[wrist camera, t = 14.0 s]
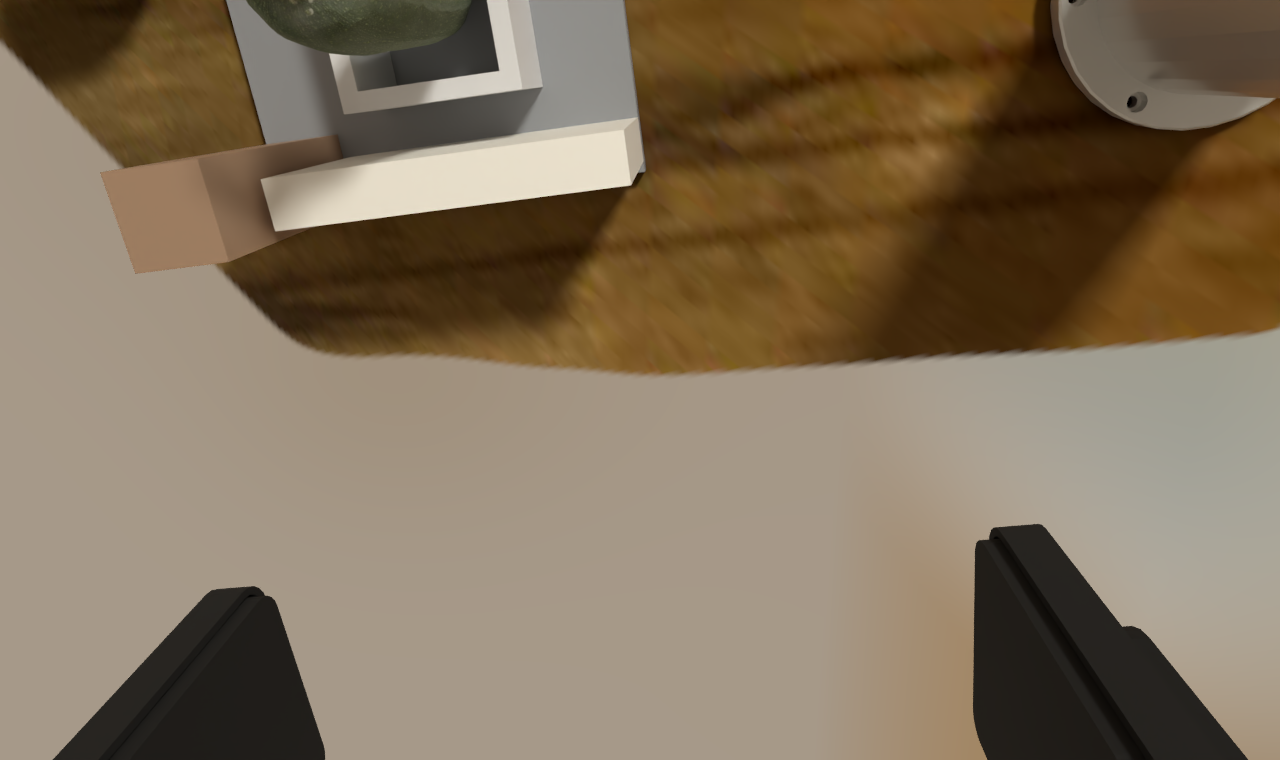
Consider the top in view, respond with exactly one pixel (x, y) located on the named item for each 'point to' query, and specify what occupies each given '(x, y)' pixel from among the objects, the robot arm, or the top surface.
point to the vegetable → (363, 23)
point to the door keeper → (398, 132)
